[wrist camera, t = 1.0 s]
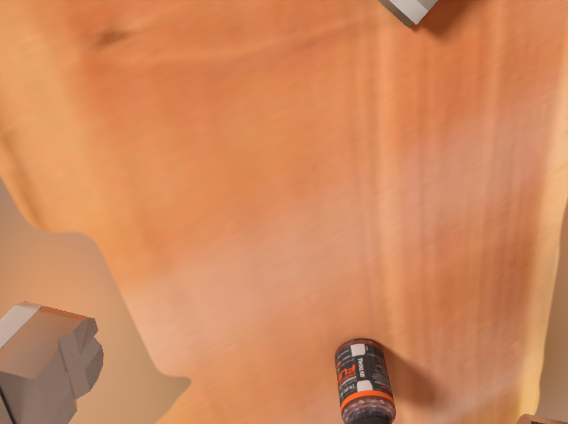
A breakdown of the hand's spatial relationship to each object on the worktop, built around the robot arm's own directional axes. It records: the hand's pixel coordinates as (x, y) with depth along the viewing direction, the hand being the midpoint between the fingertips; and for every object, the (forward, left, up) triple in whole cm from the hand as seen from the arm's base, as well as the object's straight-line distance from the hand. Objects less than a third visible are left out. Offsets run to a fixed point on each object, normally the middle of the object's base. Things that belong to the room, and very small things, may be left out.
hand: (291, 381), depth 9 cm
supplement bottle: (+32, -26, -35) cm, 54 cm away
